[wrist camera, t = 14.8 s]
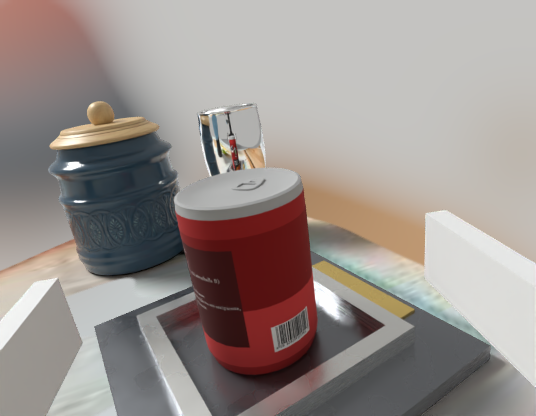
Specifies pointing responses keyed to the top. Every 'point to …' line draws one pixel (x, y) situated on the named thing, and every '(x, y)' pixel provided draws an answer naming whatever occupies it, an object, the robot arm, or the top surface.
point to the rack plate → (300, 372)
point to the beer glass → (231, 138)
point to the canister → (118, 192)
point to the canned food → (250, 266)
